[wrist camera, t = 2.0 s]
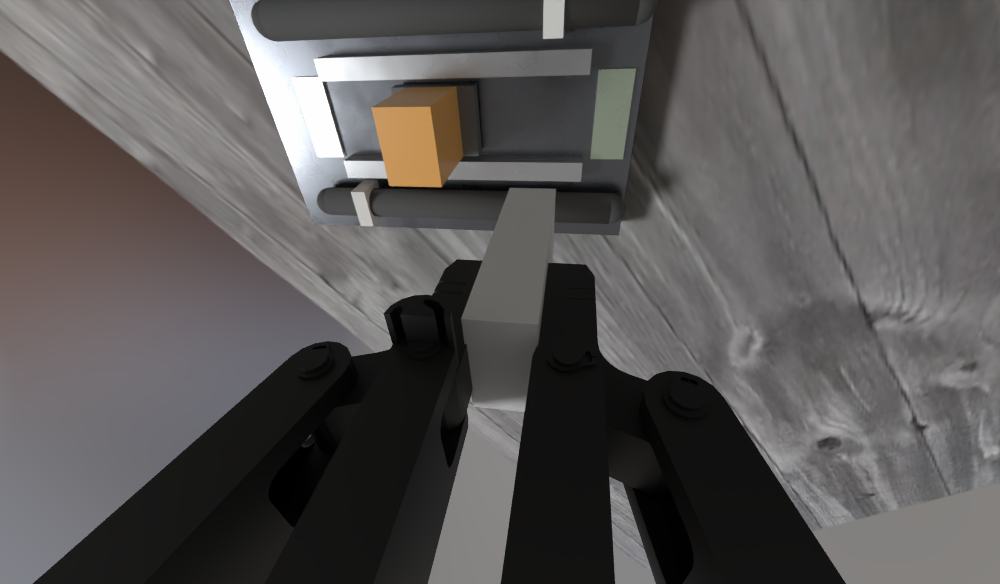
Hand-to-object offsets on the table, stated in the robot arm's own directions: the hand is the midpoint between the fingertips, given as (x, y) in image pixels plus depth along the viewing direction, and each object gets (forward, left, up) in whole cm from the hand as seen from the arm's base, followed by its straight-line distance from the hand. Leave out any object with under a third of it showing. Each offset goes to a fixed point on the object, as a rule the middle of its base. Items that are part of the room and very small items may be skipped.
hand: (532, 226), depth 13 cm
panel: (0, -7, -16) cm, 17 cm away
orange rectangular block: (0, -7, -13) cm, 15 cm away
